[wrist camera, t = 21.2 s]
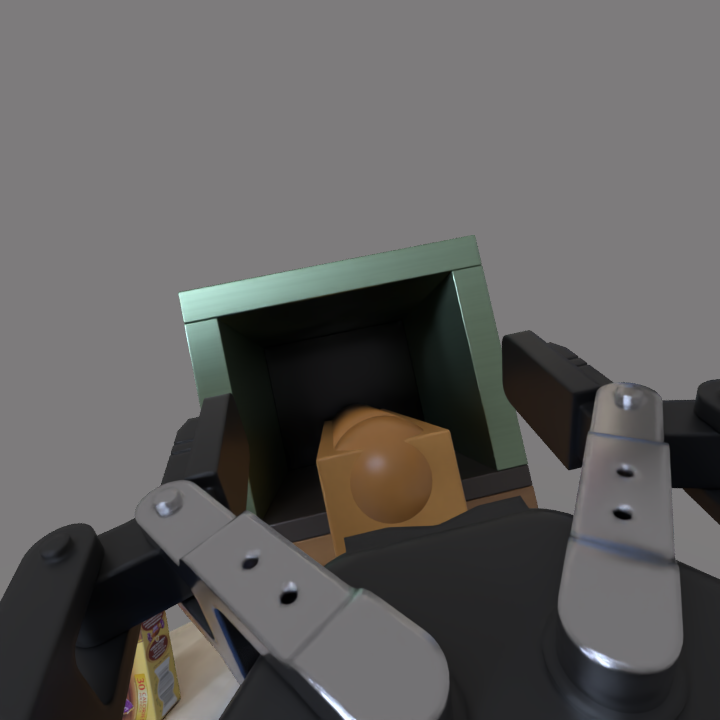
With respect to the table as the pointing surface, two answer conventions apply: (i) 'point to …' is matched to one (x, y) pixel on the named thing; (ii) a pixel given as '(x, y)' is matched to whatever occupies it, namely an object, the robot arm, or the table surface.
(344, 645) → the robot arm
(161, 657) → the candy box
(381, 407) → the box
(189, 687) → the table surface
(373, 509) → the block with domed bump
